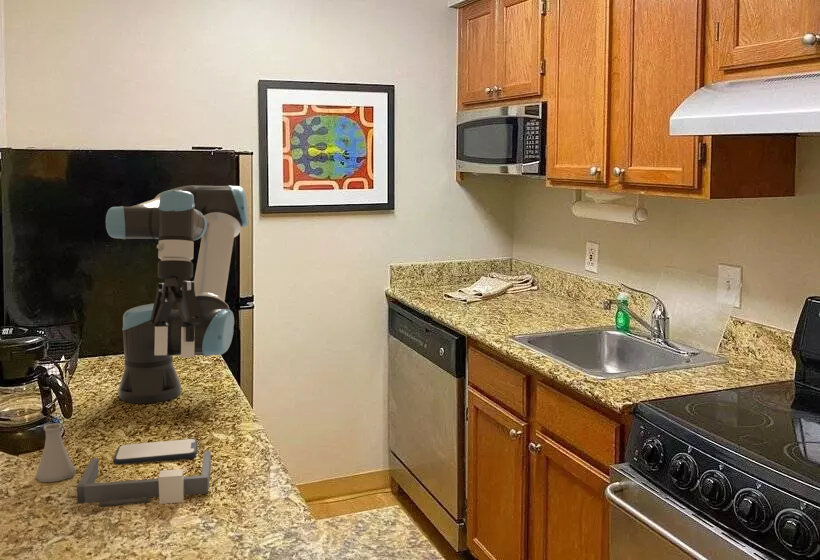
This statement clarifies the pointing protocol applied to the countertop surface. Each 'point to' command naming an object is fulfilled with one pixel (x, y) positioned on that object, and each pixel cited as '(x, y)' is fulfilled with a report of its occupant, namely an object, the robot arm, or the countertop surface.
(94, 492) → the dock
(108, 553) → the countertop surface
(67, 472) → the flask
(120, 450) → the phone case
